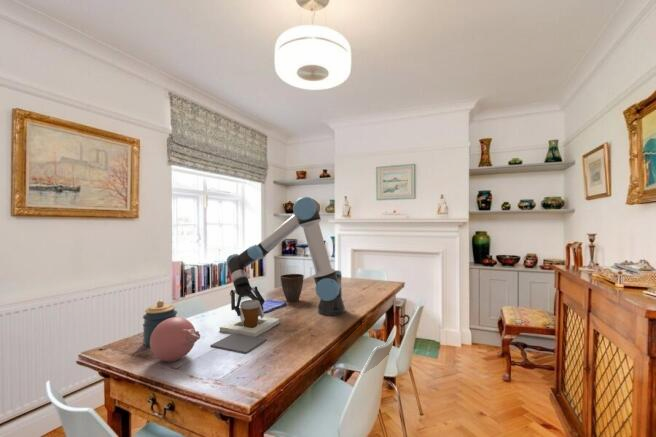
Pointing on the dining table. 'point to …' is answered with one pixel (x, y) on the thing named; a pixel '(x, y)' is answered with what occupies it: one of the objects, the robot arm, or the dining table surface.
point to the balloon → (173, 339)
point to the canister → (156, 318)
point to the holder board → (237, 329)
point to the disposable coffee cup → (250, 312)
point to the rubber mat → (239, 343)
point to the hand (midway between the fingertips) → (253, 319)
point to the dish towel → (272, 305)
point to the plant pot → (292, 286)
